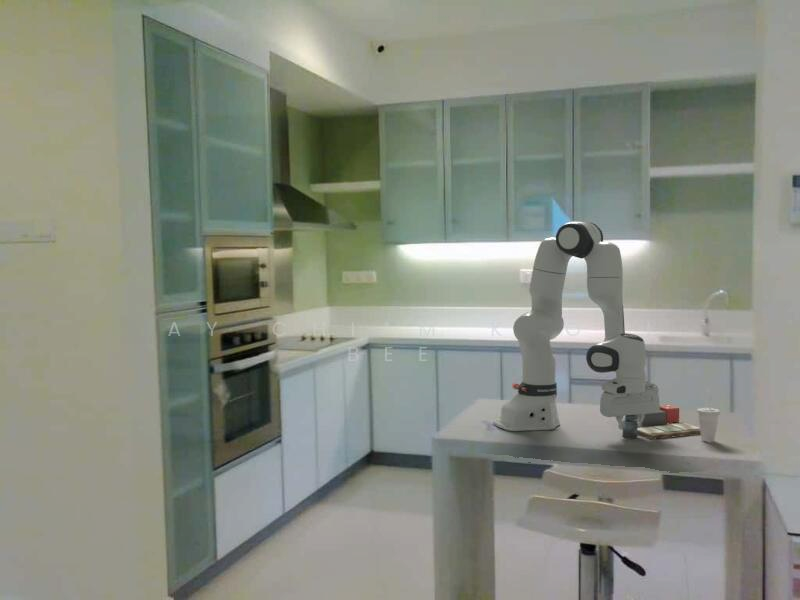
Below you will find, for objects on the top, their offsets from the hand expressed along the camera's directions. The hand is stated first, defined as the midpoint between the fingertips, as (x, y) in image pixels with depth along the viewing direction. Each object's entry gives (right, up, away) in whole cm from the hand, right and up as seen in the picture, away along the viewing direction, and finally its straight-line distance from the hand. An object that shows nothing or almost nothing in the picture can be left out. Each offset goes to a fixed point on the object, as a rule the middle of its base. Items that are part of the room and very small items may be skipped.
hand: (629, 428), depth 217 cm
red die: (+20, -1, +19) cm, 27 cm away
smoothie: (+22, -3, -5) cm, 23 cm away
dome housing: (+10, -2, +15) cm, 18 cm away
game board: (+14, -2, +5) cm, 15 cm away
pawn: (0, -3, 0) cm, 3 cm away
